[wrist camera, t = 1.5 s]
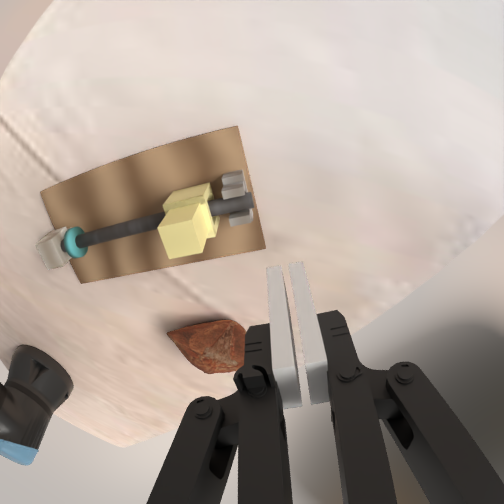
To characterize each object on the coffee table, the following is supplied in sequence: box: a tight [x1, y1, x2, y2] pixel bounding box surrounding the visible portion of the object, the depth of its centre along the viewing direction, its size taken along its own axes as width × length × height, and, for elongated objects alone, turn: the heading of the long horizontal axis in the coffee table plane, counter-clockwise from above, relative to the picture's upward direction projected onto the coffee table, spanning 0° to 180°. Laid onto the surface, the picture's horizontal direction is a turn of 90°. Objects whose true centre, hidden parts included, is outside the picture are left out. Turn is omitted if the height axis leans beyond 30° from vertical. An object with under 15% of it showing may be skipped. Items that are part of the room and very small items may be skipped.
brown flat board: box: [36, 126, 266, 284], centre depth 31 cm, size 26×14×5 cm, turn 102°
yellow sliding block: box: [157, 182, 220, 259], centre depth 28 cm, size 4×4×8 cm
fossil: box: [167, 320, 246, 374], centre depth 39 cm, size 13×8×10 cm
